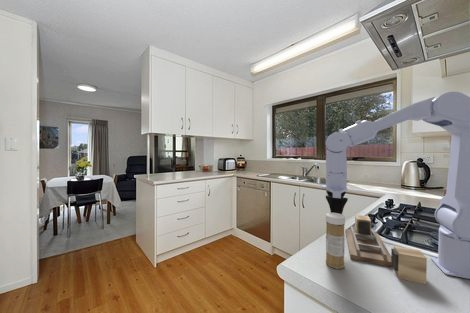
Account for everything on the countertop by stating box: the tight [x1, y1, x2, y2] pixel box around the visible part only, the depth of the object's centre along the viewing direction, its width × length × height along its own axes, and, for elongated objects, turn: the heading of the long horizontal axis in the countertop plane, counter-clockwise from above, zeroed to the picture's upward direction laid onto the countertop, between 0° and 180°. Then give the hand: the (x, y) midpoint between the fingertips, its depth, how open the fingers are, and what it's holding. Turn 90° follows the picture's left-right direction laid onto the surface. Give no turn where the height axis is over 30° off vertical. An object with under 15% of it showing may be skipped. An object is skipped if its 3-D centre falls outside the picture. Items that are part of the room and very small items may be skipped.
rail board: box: [344, 214, 393, 268], centre depth 63 cm, size 10×20×7 cm, turn 155°
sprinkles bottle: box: [325, 212, 346, 270], centre depth 53 cm, size 5×5×13 cm
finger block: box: [390, 245, 428, 285], centre depth 48 cm, size 4×6×6 cm
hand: (335, 216), depth 61 cm, fingers open, 7 cm apart
